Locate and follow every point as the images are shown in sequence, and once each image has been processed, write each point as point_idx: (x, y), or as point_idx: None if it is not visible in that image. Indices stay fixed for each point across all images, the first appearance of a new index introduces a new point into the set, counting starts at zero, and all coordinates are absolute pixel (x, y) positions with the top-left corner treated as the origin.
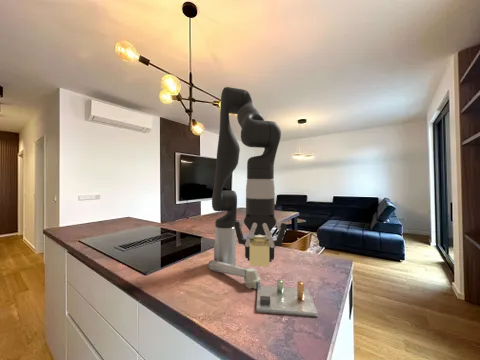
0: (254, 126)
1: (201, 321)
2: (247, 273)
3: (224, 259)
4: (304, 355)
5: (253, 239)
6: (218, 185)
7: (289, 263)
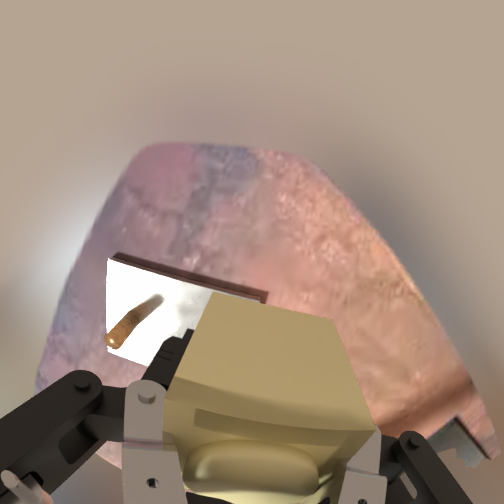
0: None
1: (400, 277)
2: None
3: None
4: (185, 142)
5: (317, 472)
6: None
7: None
